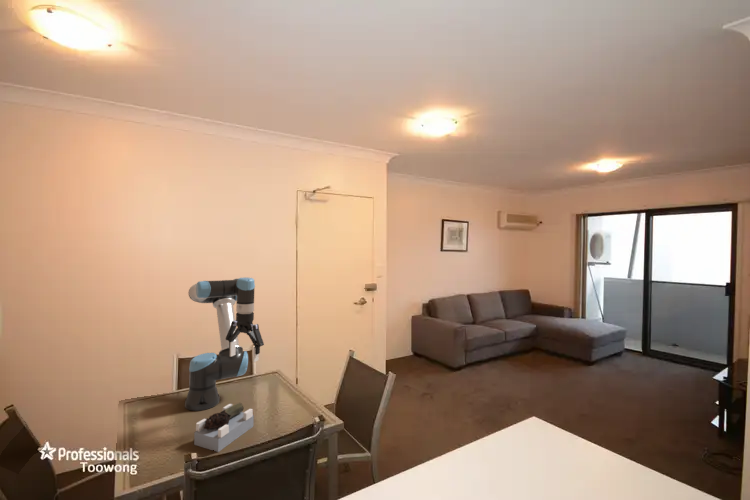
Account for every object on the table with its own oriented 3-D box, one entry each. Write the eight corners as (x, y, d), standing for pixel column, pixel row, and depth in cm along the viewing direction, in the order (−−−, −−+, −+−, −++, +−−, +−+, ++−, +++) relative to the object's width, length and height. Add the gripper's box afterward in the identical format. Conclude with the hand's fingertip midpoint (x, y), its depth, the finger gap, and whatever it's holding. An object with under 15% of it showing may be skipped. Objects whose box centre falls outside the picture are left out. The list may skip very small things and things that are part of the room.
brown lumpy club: (234, 411, 156) (235, 398, 155) (247, 414, 153) (247, 401, 153) (201, 430, 139) (201, 416, 139) (214, 434, 137) (214, 420, 137)
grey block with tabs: (193, 444, 138) (194, 424, 138) (230, 420, 157) (231, 402, 157) (218, 452, 134) (219, 431, 134) (253, 426, 153) (254, 408, 153)
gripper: (217, 310, 161) (216, 355, 162) (261, 317, 151) (259, 366, 152) (230, 307, 168) (229, 351, 169) (272, 314, 158) (271, 360, 159)
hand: (243, 358), depth 161 cm, fingers open, 13 cm apart
